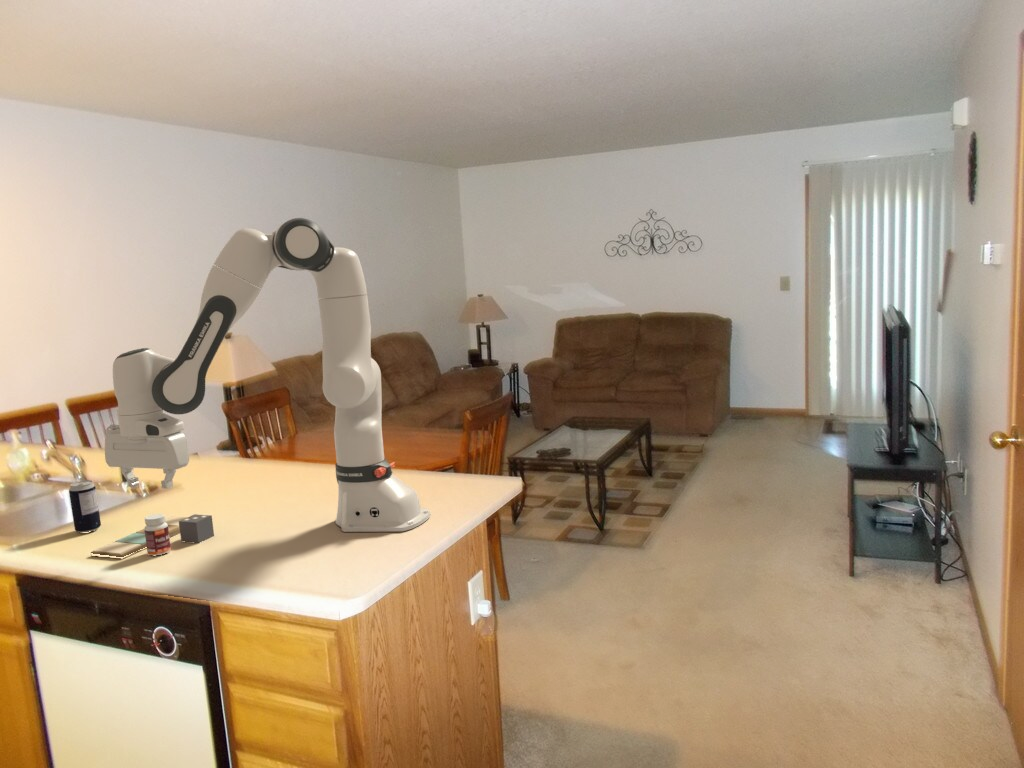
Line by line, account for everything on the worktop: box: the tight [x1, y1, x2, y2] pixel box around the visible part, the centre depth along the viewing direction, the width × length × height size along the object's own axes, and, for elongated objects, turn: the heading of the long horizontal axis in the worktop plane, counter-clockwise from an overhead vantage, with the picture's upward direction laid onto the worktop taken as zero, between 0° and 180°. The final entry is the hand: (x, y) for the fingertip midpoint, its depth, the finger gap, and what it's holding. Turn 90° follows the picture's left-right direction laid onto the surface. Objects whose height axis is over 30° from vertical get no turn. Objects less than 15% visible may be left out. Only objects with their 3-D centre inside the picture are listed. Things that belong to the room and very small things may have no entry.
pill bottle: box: [143, 513, 172, 556], centre depth 174 cm, size 5×5×8 cm
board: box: [90, 516, 187, 557], centre depth 184 cm, size 9×24×1 cm, turn 160°
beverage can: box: [68, 480, 102, 533], centre depth 192 cm, size 6×6×12 cm
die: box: [179, 514, 215, 544], centre depth 182 cm, size 5×5×5 cm
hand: (150, 487), depth 172 cm, fingers open, 8 cm apart
